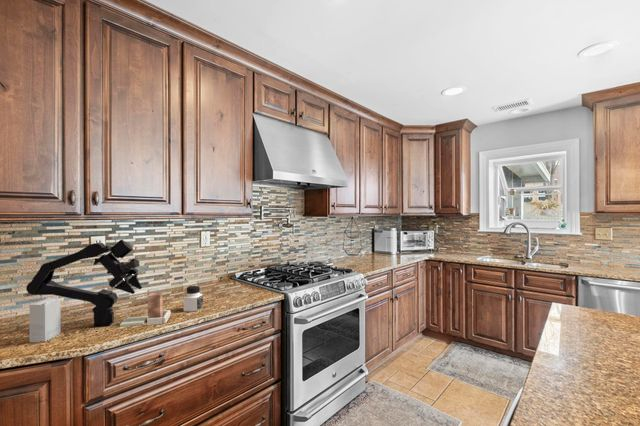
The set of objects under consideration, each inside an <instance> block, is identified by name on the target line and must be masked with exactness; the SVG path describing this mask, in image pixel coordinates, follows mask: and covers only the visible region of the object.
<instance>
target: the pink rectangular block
mask: <svg viewBox="0 0 640 426" xmlns="http://www.w3.org/2000/svg"><path fill="white" fill-rule="evenodd" d="M163 310H164V309H163V292H161V291H160V292H152V293H149V294H148V295H147V316H148V319H150V318H160V317H164V316H163Z"/></svg>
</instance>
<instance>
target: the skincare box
mask: <svg viewBox="0 0 640 426" xmlns="http://www.w3.org/2000/svg"><path fill="white" fill-rule="evenodd" d="M60 334H61V298H44V299H41V300H39V301H37V302H34V303H31V304H29V343H41V342H40V341H46V342H48V341H49V339H50V340H52V339H53V338H55V337H57V336H60ZM47 340H48V341H47Z"/></svg>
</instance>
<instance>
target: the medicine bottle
mask: <svg viewBox="0 0 640 426" xmlns="http://www.w3.org/2000/svg"><path fill="white" fill-rule="evenodd" d="M200 290H201V289H200V286H199V285H196V284H195V285H193V284H192V285H189V286H187V287H186V296H184V297H183V312H199V311H200V310H201V309H203V308H204V294H203V293H200V292H201V291H200Z"/></svg>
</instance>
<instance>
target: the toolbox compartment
mask: <svg viewBox="0 0 640 426" xmlns="http://www.w3.org/2000/svg"><path fill="white" fill-rule="evenodd" d="M170 316H171V309H165V310H164V309H163V317H160V318H150V319H147V320H146V324H147V326H152V325H159V324H160V325H162V324H166V323H167V322H168V320H169V318H170Z"/></svg>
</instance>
